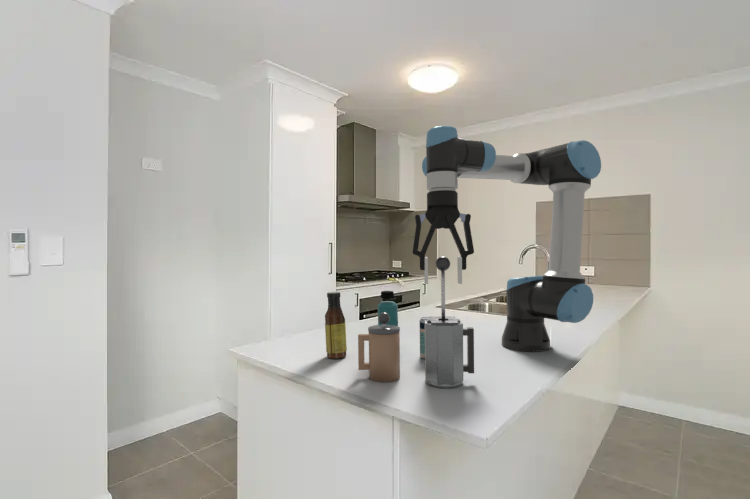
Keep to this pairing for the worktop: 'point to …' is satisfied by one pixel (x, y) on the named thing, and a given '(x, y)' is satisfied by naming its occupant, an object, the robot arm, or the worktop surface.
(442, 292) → the plunger
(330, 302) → the sauce bottle
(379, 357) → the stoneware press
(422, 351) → the beer can
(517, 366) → the worktop surface
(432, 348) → the steel carafe
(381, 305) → the beverage bottle
